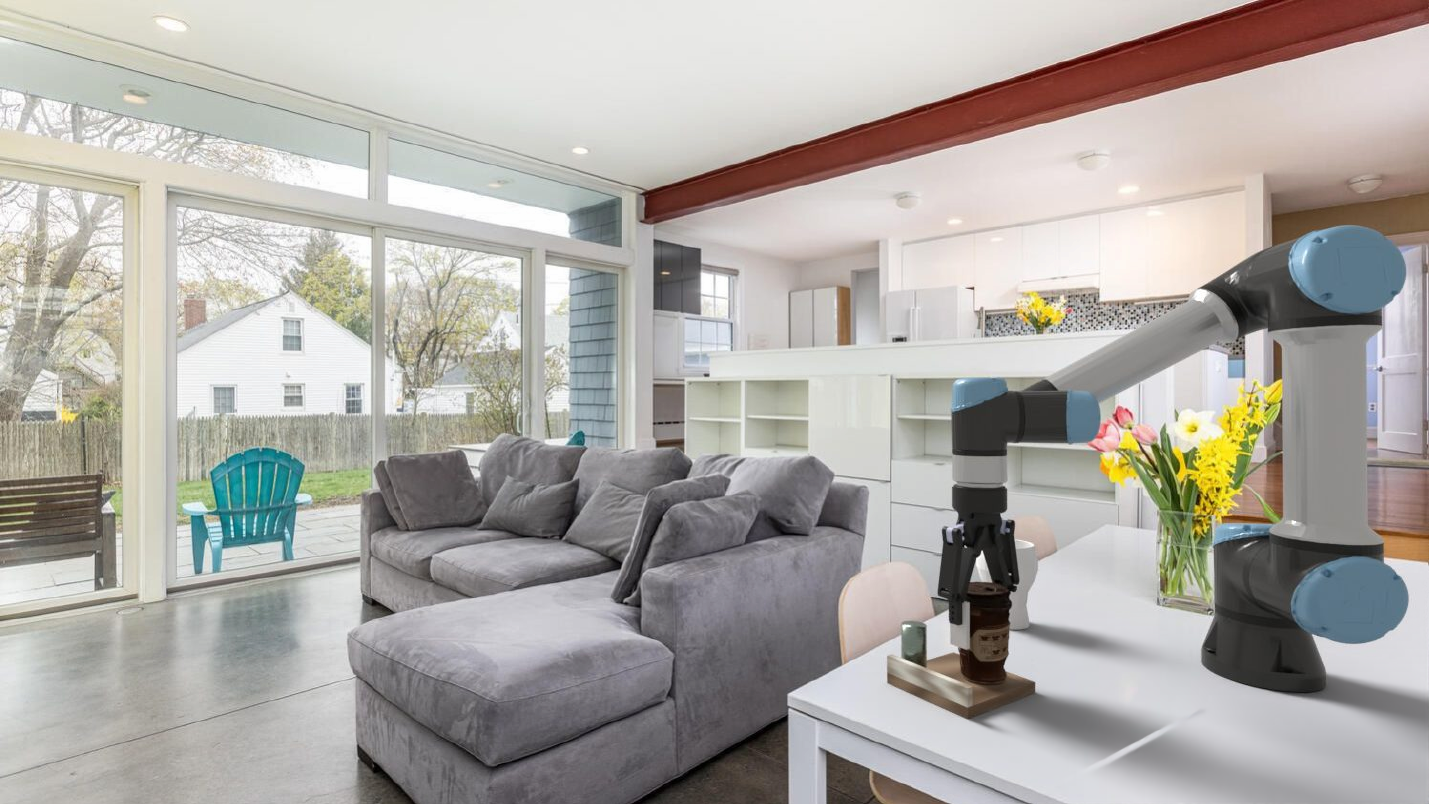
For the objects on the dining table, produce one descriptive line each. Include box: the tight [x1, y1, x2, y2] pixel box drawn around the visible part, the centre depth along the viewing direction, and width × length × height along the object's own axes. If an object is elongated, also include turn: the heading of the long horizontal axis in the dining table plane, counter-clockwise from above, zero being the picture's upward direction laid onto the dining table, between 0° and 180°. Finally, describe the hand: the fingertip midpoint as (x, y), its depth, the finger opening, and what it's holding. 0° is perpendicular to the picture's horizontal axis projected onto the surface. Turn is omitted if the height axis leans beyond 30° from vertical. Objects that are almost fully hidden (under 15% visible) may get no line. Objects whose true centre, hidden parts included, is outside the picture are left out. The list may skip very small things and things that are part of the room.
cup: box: [975, 538, 1039, 631], centre depth 129 cm, size 11×11×15 cm
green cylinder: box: [900, 620, 928, 668], centre depth 103 cm, size 4×4×7 cm
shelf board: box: [886, 652, 1036, 720], centre depth 101 cm, size 14×15×4 cm
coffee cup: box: [957, 581, 1012, 684], centre depth 100 cm, size 9×8×13 cm
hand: (980, 640), depth 101 cm, fingers closed on coffee cup, 8 cm apart
